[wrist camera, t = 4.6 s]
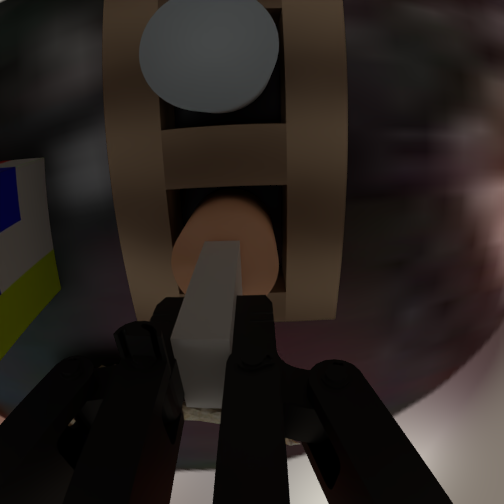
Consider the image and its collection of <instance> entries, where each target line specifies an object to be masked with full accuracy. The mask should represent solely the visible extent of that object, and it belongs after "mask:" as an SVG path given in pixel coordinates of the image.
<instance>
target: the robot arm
mask: <svg viewBox="0 0 504 504" xmlns="http://www.w3.org/2000/svg"><path fill="white" fill-rule="evenodd" d="M113 335H114V338H115V341H116V344H117V347H118V350H119V353H120V356H121V360H120V362H119V364H117V365H112V366H106V367H100V368H94V366H93V364H92V362H91V360H89V359H87V358H86V357H82V356H73V357H69V358H66V359H64V360H62V361H60V362H59V363H58V364H57V365H55V366H54V368H53V369H52V370H51V371H50V372H49V373H48V374H47V375H46V376H45V377H44V378H43V379H42V380H41V381H40V382H39V383H38V384H37V385H36V386H35V387H34V389H33V390H32V391H31V392H30V393H29V394H28V395H27V396H26V397H25V398H24V399H23V400H22V401H21V402H20V404H19V405H18V406H17V407H16V408H15V409H14V410H13V411H12V412H11V413H10V415H9V416H8V417H7V418H6V419H5V420H4V421H3V422H2V423H1V425H0V504H169V503H170V498H171V492H172V486H173V480H174V475H175V469H176V463H177V458H178V452H179V446H180V441H181V436H182V430H183V425H184V415H183V411H182V404H183V400H184V398H185V402H186V406H187V407H193V408H222V409H221V420H220V430H219V440H218V451H217V461H216V472H215V483H214V484H215V485H214V494H213V495H214V496H213V504H290V498H289V483H288V469H287V455H286V441H285V438H287V439H292V440H297V441H301V442H302V445H303V447H304V450H305V452H306V454H307V456H308V459H309V461H310V463H311V465H312V468H313V470H314V472H315V474H316V476H317V479H318V481H319V483H320V485H321V488H322V490H323V492H324V494H325V496H326V498H327V501H328V503H329V504H453V503H452V502H451V500H450V499H449V497H448V495H447V494H446V493H445V491H444V490H443V488H442V487H441V485H440V484H439V482H438V481H437V479H436V478H435V477H434V475H433V474H432V472H431V471H430V469H429V468H428V466H427V465H426V464H425V462H424V461H423V459H422V458H421V456H420V455H419V454H418V452H417V451H416V449H415V448H414V446H413V445H412V444H411V442H410V441H409V439H408V438H407V436H406V435H405V433H404V432H403V431H402V429H401V428H400V426H399V425H398V424H397V422H396V421H395V419H394V418H393V416H392V415H391V414H390V412H389V411H388V409H387V408H386V407H385V405H384V404H383V402H382V401H381V400H380V398H379V397H378V395H377V394H376V393H375V391H374V390H373V388H372V387H371V386H370V384H369V383H368V381H367V380H366V379H365V377H364V376H363V374H362V373H361V372H360V370H359V369H357V368H356V367H355V366H354V365H353V364H351V363H348V362H346V361H343V360H336V359H333V360H325V361H322V362H320V363H317V364H316V365H315V366H314V367H313V368H312V369H311V370H305V369H300V368H296V367H293V366H290V365H288V364H286V363H285V362H284V361H283V360H281V358H280V357H279V356H278V353H277V350H276V338H275V327H274V316H273V305H272V302H271V301H270V299H269V298H268V297H267V296H266V295H242V276H241V256H240V240H237V241H205V242H204V244H203V247H202V250H201V252H200V255H199V258H198V261H197V263H196V266H195V269H194V272H193V274H192V277H191V280H190V283H189V286H188V288H187V291H186V294H185V297H165V298H164V299H163V300H162V301H161V302H160V303H158V304H157V306H156V308H155V310H154V312H153V315H152V317H151V319H150V322H149V321H134V322H131V323H128V324H125V325H124V326H122V327H120V328H119V329H118V330H117V331H116V332H115V333H114V334H113ZM73 418H74V420H75V423H74V424H73V425H71V426H68V425H69V423H70V422H71V421H72V420H73Z"/></svg>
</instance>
